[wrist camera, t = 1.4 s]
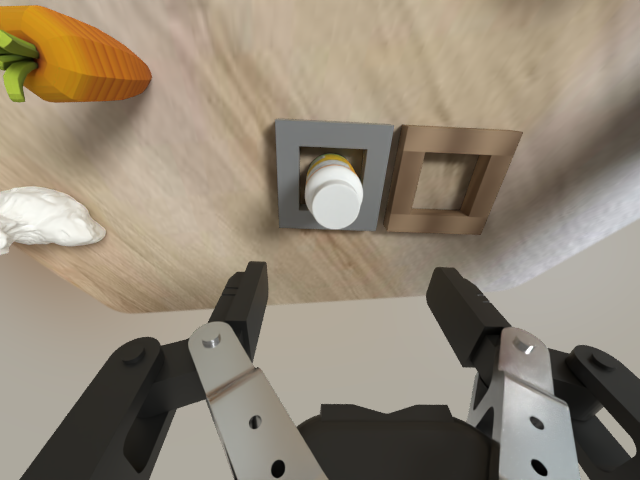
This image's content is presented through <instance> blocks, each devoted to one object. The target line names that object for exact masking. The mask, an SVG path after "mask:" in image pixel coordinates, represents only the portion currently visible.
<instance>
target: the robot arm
mask: <svg viewBox="0 0 640 480" xmlns="http://www.w3.org/2000/svg"><path fill="white" fill-rule="evenodd" d="M267 300H268V276H267V264H266V262H255V261H250V262H249V263H248V266H247V268H246V270H245V272H236V273H235V274H234V275H233V276H232V277H231V278H230V279H229V280H228V282H227V284H226V286H225V289H224V290H223V292H222V296H221V297H220V299H219V301H218V303H217V305H216V307H215V309H214V311H213V313H212V315H211V317H210V319H209V321H208V323H207V324H205V325H203V326H201V327H199V328H198V329H197V330H195V331H194V332H193V334H192V335H191V337H190V338H188V339H186V340H182V341H179V342H174V343H171V344H166V345H162V346H161V345H160V343H159V342H158V340H157V339H154V338H151V337H142V338H137V339H134V340H132V341H129V342H127V343H126V344H124V345H122V346H121V347H119V348H118V349H117V350H116V351H115V352H114V353H113V354H112V355H111V356H110V357H109V359H108V360H107V361H106V363H105V364H104V366H103V367H102V368H101V370H100V371H99V372H98V374H97V375H96V377H95V378H94V379H93V381H92V382H91V383H90V385H89V386H88V387H87V389H86V390H85V391H84V393H83V394H82V396H81V397H80V398H79V400H78V401H77V402H76V404H75V405H74V406H73V408H72V409H71V410H70V412H69V413H68V414H67V416H66V417H65V419H64V420H63V421H62V423H61V424H60V426H59V427H58V428H57V429H56V431H55V432H54V434H53V435H52V436H51V438H50V439H49V440H48V442H47V443H46V444H45V446H44V447H43V449H42V450H41V451H40V453H39V454H38V455H37V457H36V458H35V459H34V461H33V462H32V463H31V465H30V466H29V468H28V469H27V470H26V472H25V473H24V474H23V476H22V477H21V478H20V480H149V478H150V476H151V473H152V471H153V468H154V465H155V463H156V460H157V458H158V455H159V452H160V450H161V448H162V445H163V443H164V440H165V437H166V435H167V432H168V430H169V427H170V425H171V422H172V419H173V417H174V415H175V412H176V409H177V408H180V407H183V406H186V405H189V404H192V403H195V402H198V401H201V400H205V399H206V402H207V405H208V408H209V410H210V413H211V416H212V419H213V422H214V424H215V427H216V430H217V433H218V435H219V438H220V441H221V443H222V446H223V449H224V452H225V455H226V458H227V461H228V464H229V466H230V469H231V472H232V475H233V478H234V480H581V479H580V473H579V467H578V463H579V464H580V466H581V467H582V469H583V470H584V472H585V473H586V474H587V476H588V477H589V479H590V480H640V379H639V378H637V377H636V376H635V375H634V374H633V373H632V372H631V371H630V370H629V369H628V368H626V367H625V366H624V365H623V364H622V363H621V362H619V361H618V360H617V359H615V358H614V357H612V356H610V355H609V354H607V353H605V352H603V351H601V350H599V349H597V348H594V347H590V346H585V345H579V346H576V347H575V348H574V349H573V350H572V351H571V353H570V354H568V353H564V352H561V351H557V350H553V349H549V348H547V347H546V346H545V344H544V343H543V342H542V341H541V340H540V339H538V338H537V337H536V336H534V335H532V334H531V333H529V332H527V331H525V330H522V329H519V328H515V327H512V326H511V325H510V324H509V323H508V322H507V320H506V319H505V318H504V317H503V316H502V315H501V314H500V313H499V312H498V310H497V309H496V308H495V307H494V306H493V305H492V303H489V300H488V299H487V298H486V297H485V296H483V293H482V292H481V291H480V290H479V289H478V288H477V286H476V285H474V284H473V283H471V282H470V281H468V280H467V279H464V278H463V277H462V276H461V275H460V274H459V272H458V271H457V270H456V269H455V268H447V267H437V268H435V270H434V272H433V275H432V278H431V281H430V284H429V287H428V290H427V293H426V300H427V304H428V306H429V308H430V310H431V311H432V313H433V315H434V317H435V318H436V320H437V322H438V324H439V326H440V327H441V329H442V331H443V333H444V335H445V336H446V338H447V340H448V342H449V343H450V345H451V347H452V349H453V350H454V352H455V354H456V356H457V358H458V360H459V361H460V363H461V365H462V367H475V368H476V369H477V371H478V372H477V374H476V376H475V380H474V386H473V391H472V398H471V403H470V409H469V414H468V418H467V421H466V422H464V421H462V420H460V419H457V418H455V417H452V415H451V413H450V410H449V408H448V406H447V405H414V406H411V407H408V408H405V409H402V410H399V411H396V412H392V413H389V414H385V413H381V412H377V411H374V410H371V409H367V408H364V407H360V406H356V405H353V404H321V410H320V411H321V412H320V415H317V416H314V417H312V418H310V419H308V420H306V421H304V422H303V423H301V424H300V425H298V426H297V427H296V426H295V424H294V423H293V421H292V419H291V418H290V416H289V414H288V413H287V411H286V409H285V408H284V406H283V404H282V403H281V401H280V399H279V398H278V396H277V394H276V393H275V391H274V389H273V388H272V386H271V385H270V383H269V381H268V380H267V378H266V376H265V375H264V373H263V371H262V370H261V369H260V368H258V367H257V368H255V367H254V366H253V364H252V363H253V359H254V354H255V350H256V346H257V342H258V337H259V334H260V329H261V325H262V321H263V317H264V313H265V308H266V304H267ZM603 407H605V408H606V410H608V412H609V413H610V414H611V415H612V416H613V417H614V419H615V420H616V421H617V422H618V423H619V424H620V425H621V426H622V427H623V429H624V430H625V431H626V432H627V433H628V434H629V435H630V436H631V438H632V439H633V441H634V443H635V445H636V450H637V452H636V455H635V456H634V457H633V458H631V457H630V456H629V455H628V453H627V452H626V451H625V450H624V449H623V448H622V446H621V445H620V444H619V443H618V442H617V440H616V439H615V438H614V437H613V436H612V434H611V433H610V432H609V431H608V430H607V429H606V427H605V426H604V425H603V424H602V423H601V422H600V420H599V419H598V418H597V417H596V416H595V414H596V413H597V412H598V411H599V410H601V409H602V408H603Z"/></svg>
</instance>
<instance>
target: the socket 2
mask: <svg viewBox="0 0 640 480" xmlns="http://www.w3.org/2000/svg"><path fill="white" fill-rule="evenodd" d="M522 134H523V132H519V131H512V130H496V129H476V128H456V127H436V126H417V125H402V128H401V133H400V139H399V144H398V149H397V154H396V160H395V165H394V170H393V176H392V181H391V186H390V191H389V197H388V202H387V207H386V212H385V218H384V223H383V225H384V227H385V228H386V230H387V232H415V233H444V234H473V235H481V233H482V230H483V228H484V226H485V223H486V221H487V218H488V216H489V213H490V211H491V209H492V206H493V204H494V201H495V199H496V197H497V194H498V192H499V189H500V187H501V184H502V182H503V180H504V177H505V175H506V172H507V170H508V168H509V165H510V163H511V160H512V158H513V155H514V153H515V151H516V148H517V146H518V143H519V141H520V138H521V136H522ZM425 152H436V153H458V154H479V157H478V160H477V163H476V166H475V169H474V172H473V175H472V178H471V180H470V183H469V186H468V189H467V192H466V195H465V198H464V201H463V203H462V206H461V209H460V210H437V209H412V205H413V201H414V197H415V193H416V189H417V185H418V181H419V176H420V172H421V168H422V164H423V160H424V156H425Z"/></svg>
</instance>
